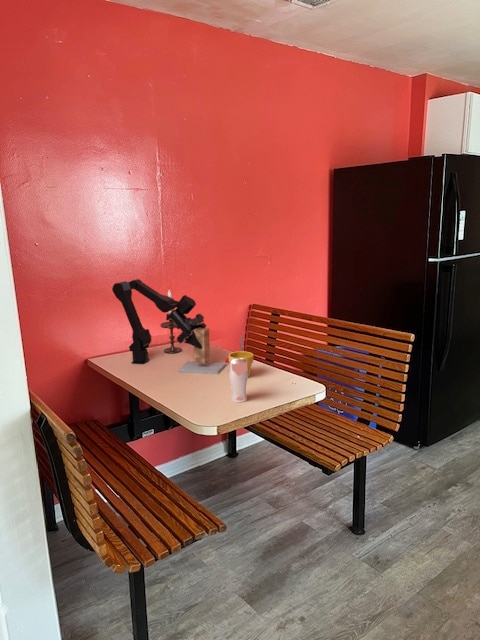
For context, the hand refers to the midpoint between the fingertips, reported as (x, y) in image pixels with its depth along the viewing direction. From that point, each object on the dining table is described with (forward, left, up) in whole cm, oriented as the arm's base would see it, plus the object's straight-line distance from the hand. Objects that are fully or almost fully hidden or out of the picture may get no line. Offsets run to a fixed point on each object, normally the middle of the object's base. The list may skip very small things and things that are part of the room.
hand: (204, 346), depth 213 cm
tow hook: (+10, +14, -11) cm, 20 cm away
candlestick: (-26, +24, -11) cm, 37 cm away
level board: (-1, 0, -10) cm, 10 cm away
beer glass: (+25, -32, -11) cm, 42 cm away
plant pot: (+19, -7, -11) cm, 23 cm away
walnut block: (-1, 0, -7) cm, 7 cm away
